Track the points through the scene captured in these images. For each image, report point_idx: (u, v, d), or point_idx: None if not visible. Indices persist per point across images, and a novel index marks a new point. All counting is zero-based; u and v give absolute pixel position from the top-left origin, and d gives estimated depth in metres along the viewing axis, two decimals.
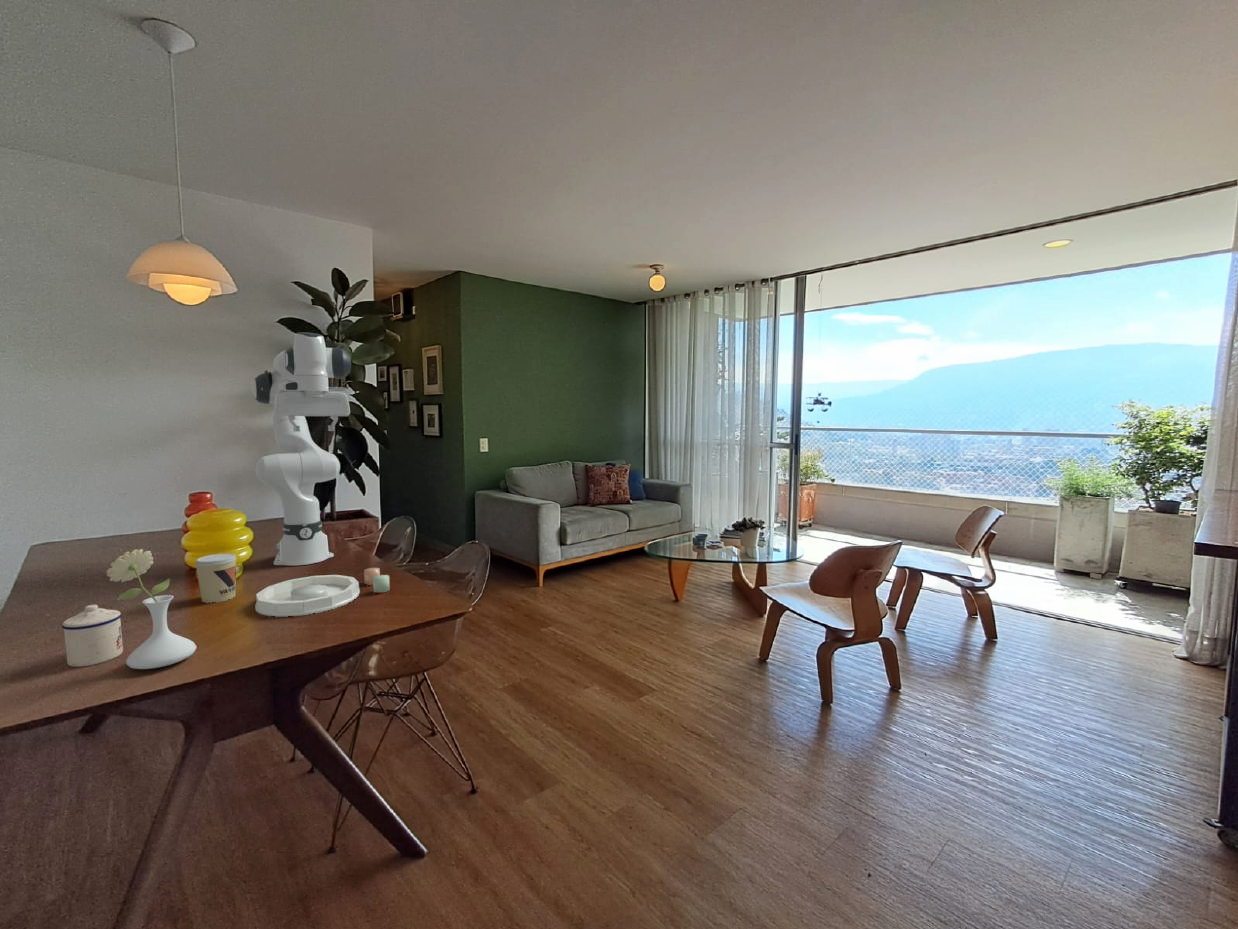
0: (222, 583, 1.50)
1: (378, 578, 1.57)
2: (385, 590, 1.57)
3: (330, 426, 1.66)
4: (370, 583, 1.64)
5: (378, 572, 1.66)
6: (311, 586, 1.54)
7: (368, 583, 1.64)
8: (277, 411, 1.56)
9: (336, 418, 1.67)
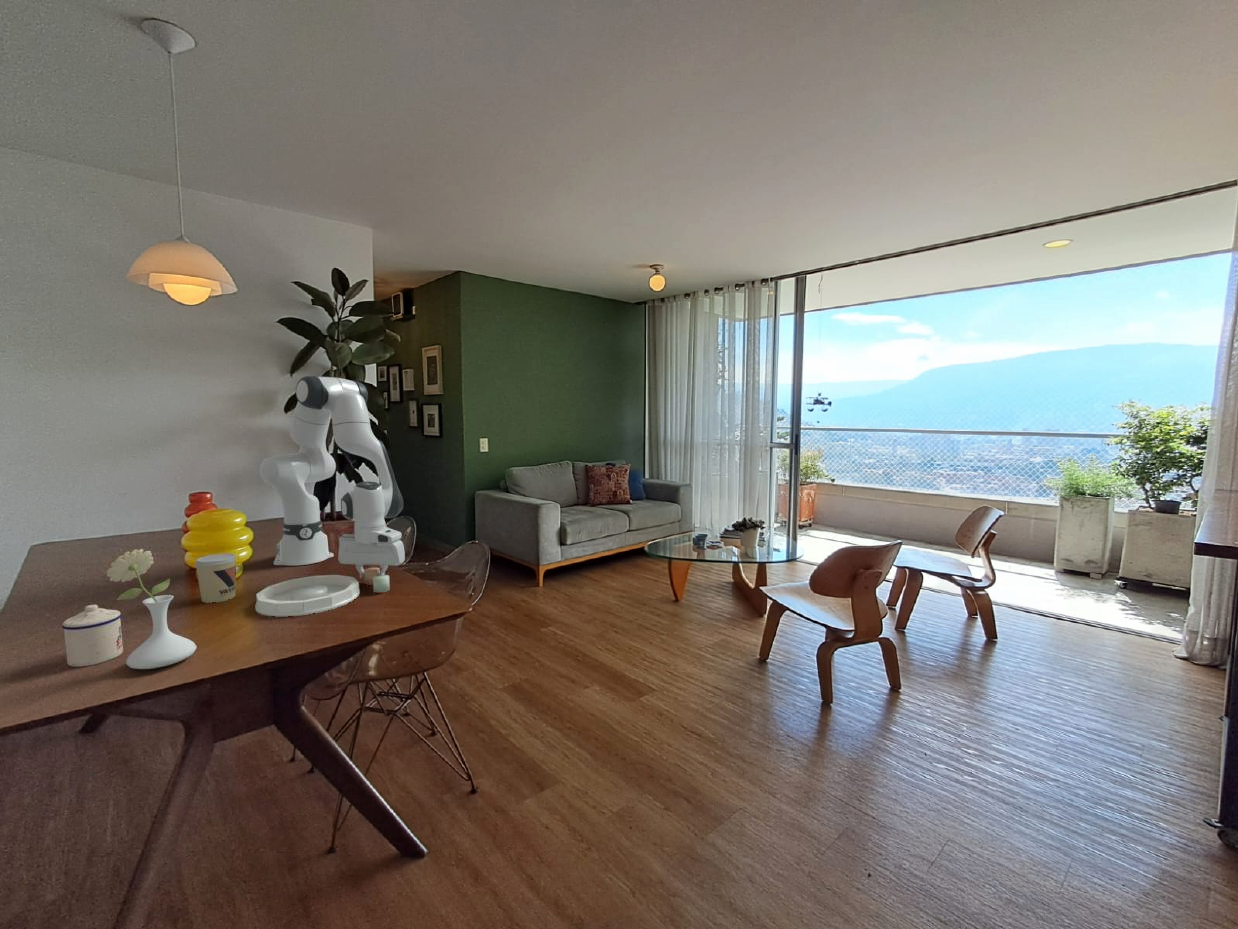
0: (222, 583, 1.50)
1: (378, 578, 1.57)
2: (385, 590, 1.57)
3: None
4: (370, 583, 1.64)
5: (378, 572, 1.66)
6: (311, 586, 1.54)
7: (368, 583, 1.64)
8: None
9: None
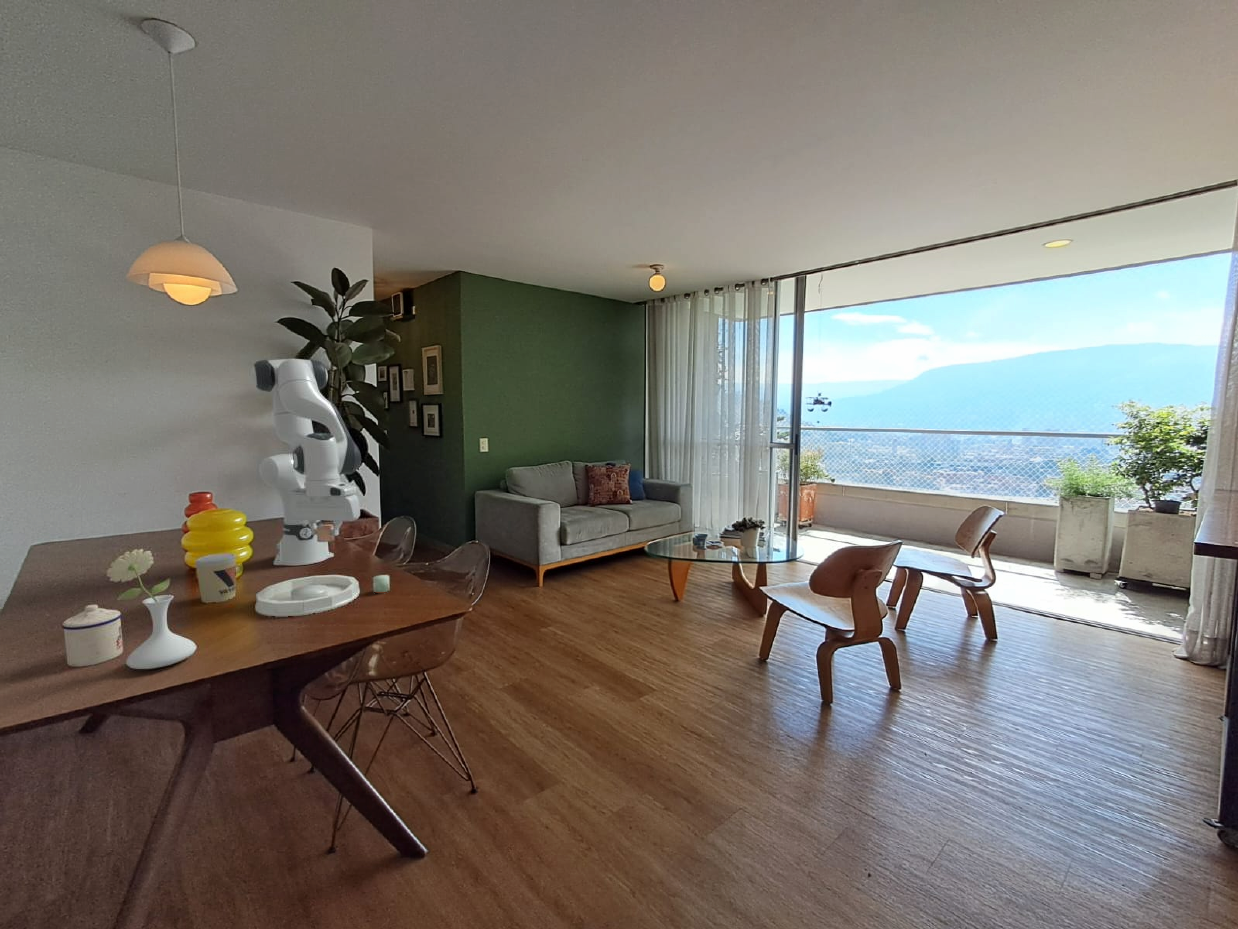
0: (222, 583, 1.50)
1: (378, 578, 1.57)
2: (385, 590, 1.57)
3: None
4: (323, 539, 1.56)
5: (332, 528, 1.57)
6: (311, 586, 1.54)
7: (320, 539, 1.55)
8: None
9: None
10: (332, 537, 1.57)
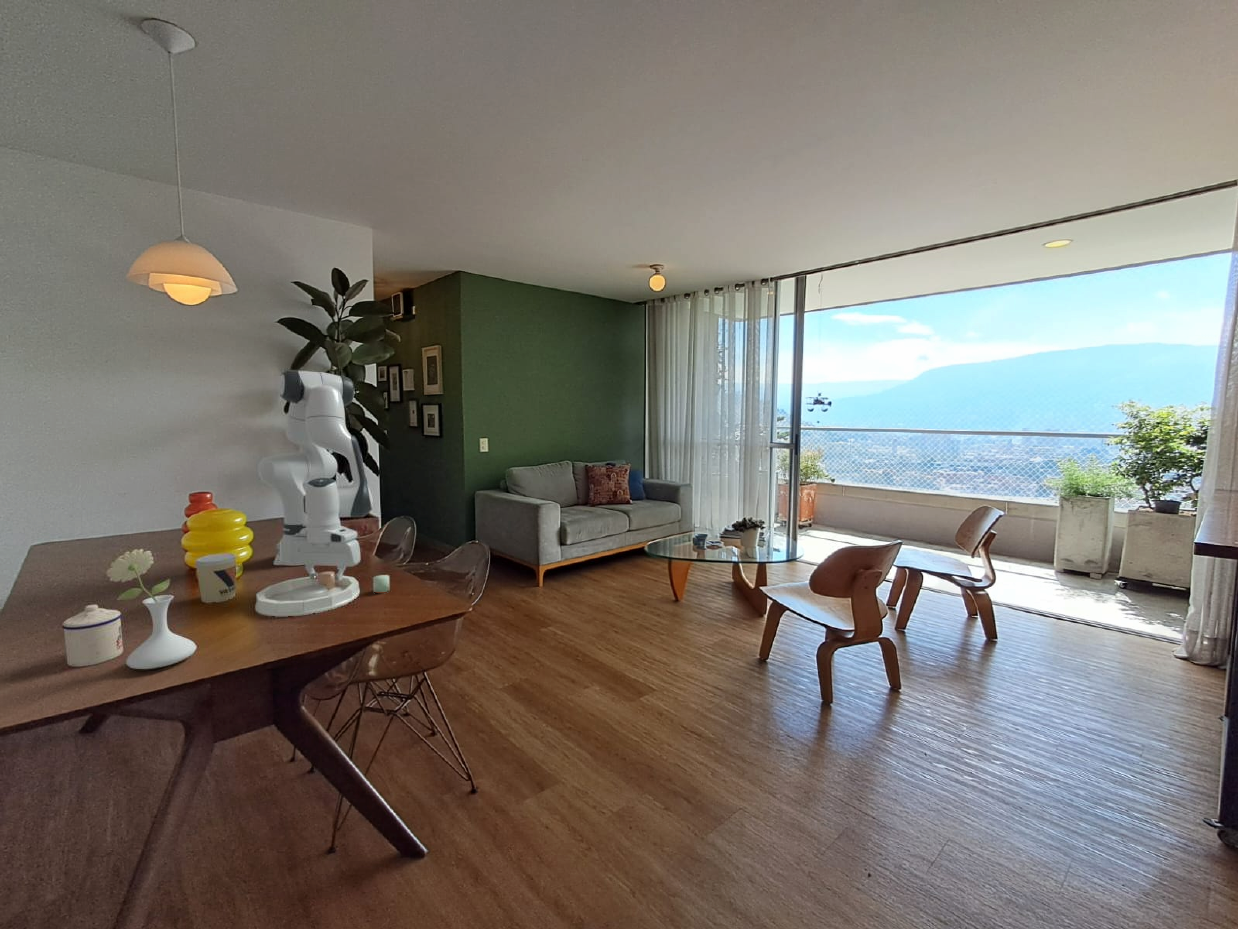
0: (222, 583, 1.50)
1: (379, 578, 1.57)
2: (385, 590, 1.57)
3: None
4: None
5: (332, 576, 1.58)
6: (311, 586, 1.54)
7: None
8: None
9: None
10: (333, 585, 1.59)
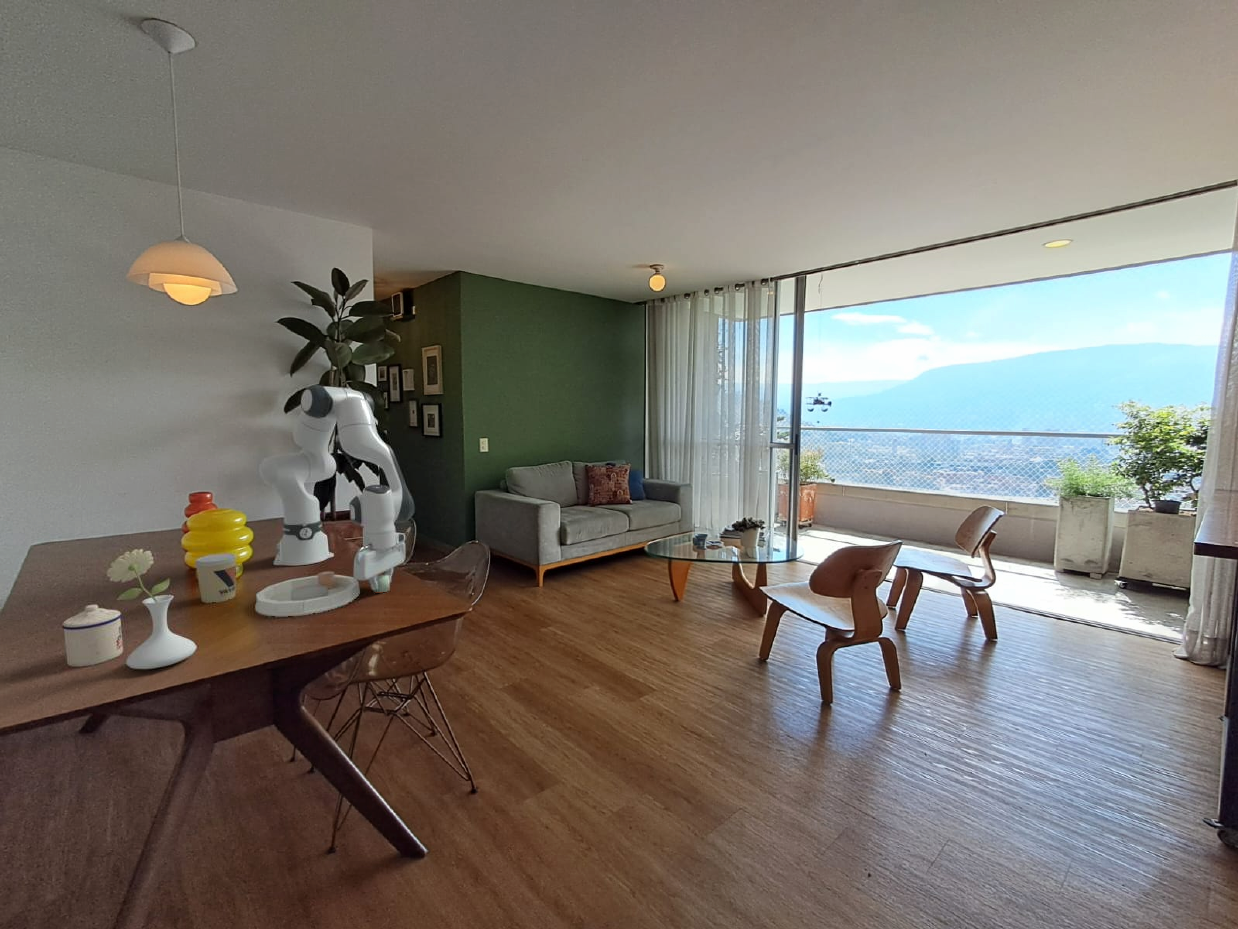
0: (222, 583, 1.50)
1: (379, 578, 1.57)
2: (385, 590, 1.57)
3: None
4: None
5: (332, 576, 1.58)
6: (311, 586, 1.54)
7: None
8: None
9: None
10: (333, 585, 1.59)
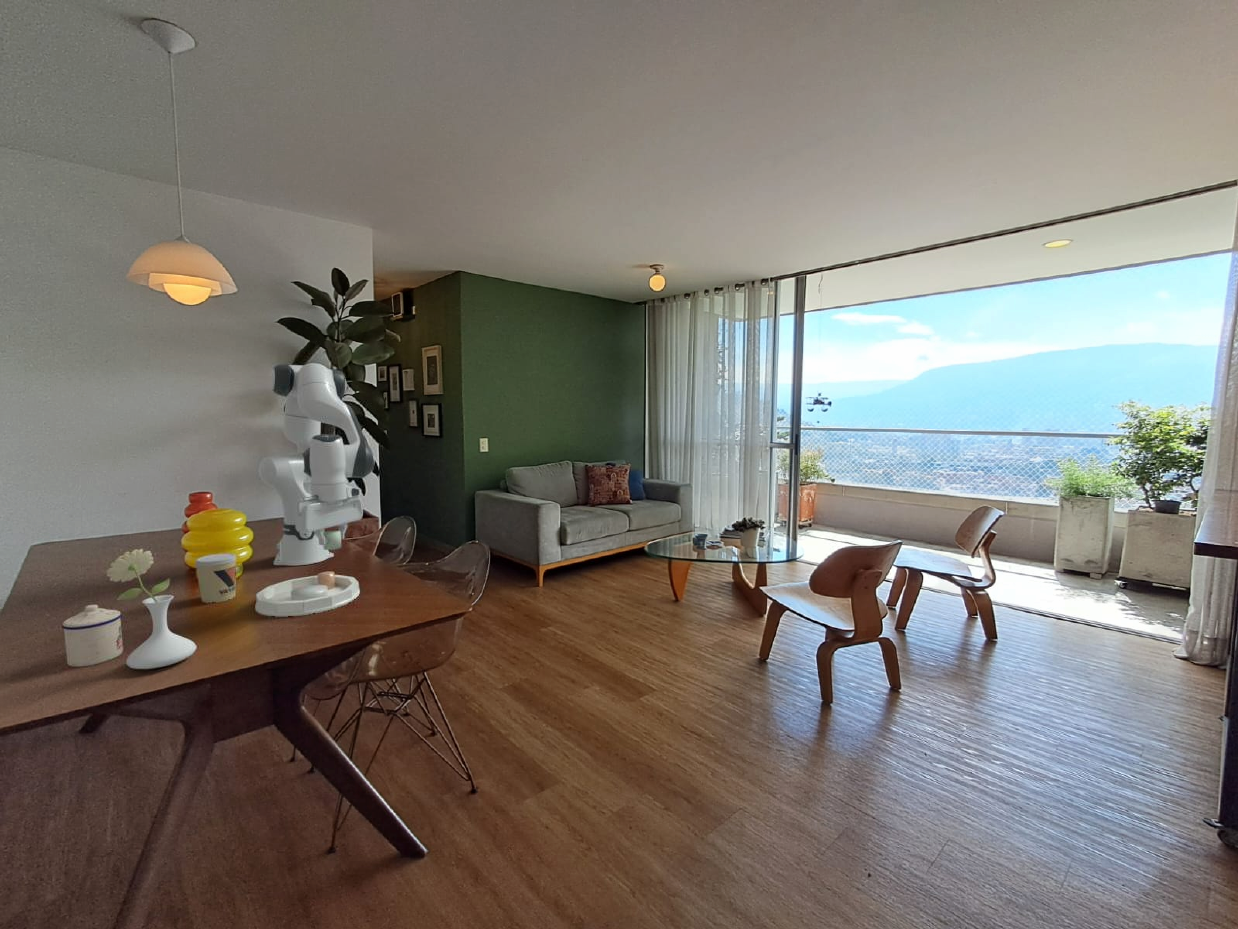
0: (222, 583, 1.50)
1: (328, 533, 1.48)
2: (335, 546, 1.48)
3: None
4: None
5: (332, 576, 1.58)
6: (311, 586, 1.54)
7: None
8: None
9: None
10: (333, 585, 1.59)
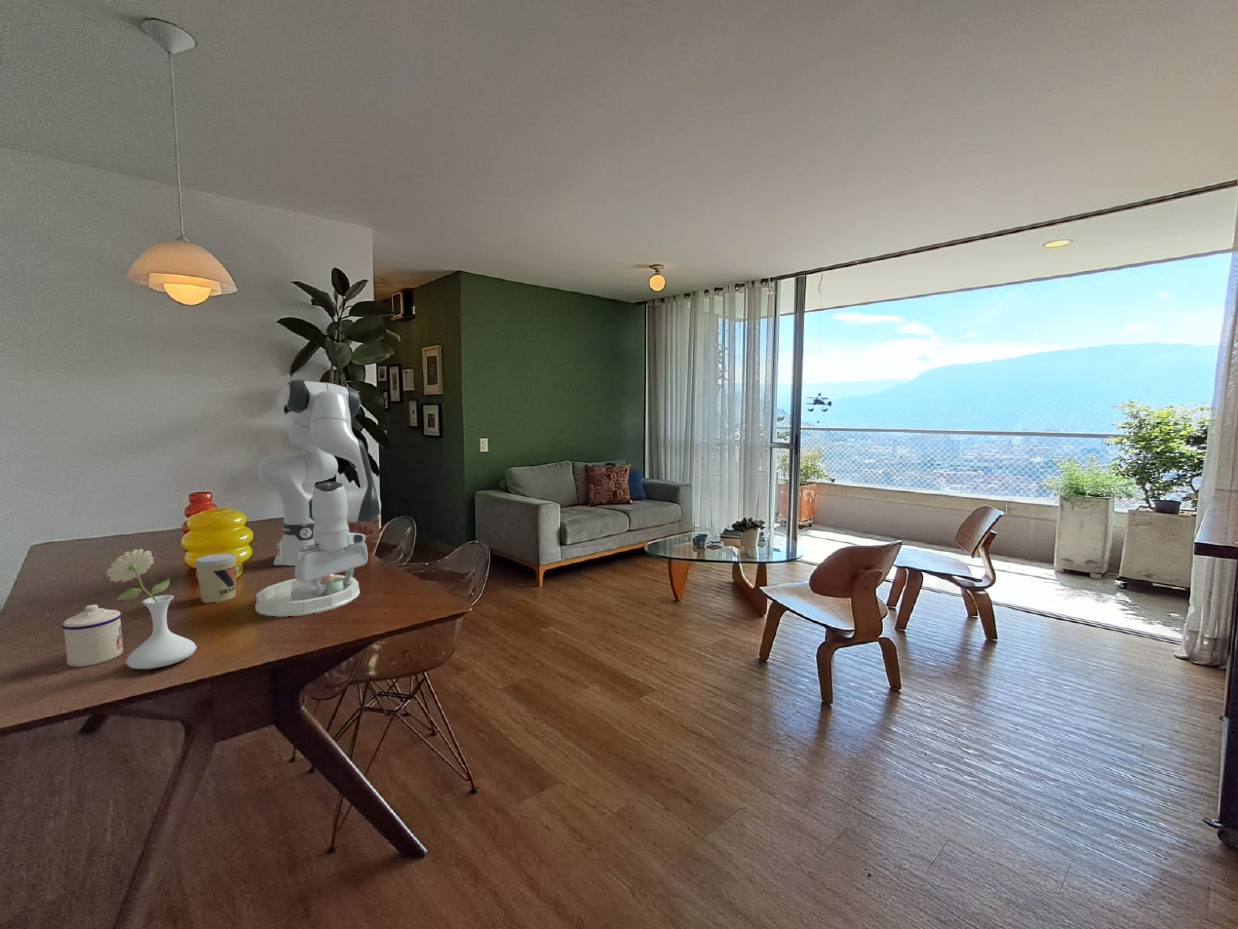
0: (222, 583, 1.50)
1: (330, 583, 1.49)
2: None
3: None
4: None
5: (332, 576, 1.58)
6: (311, 586, 1.54)
7: None
8: None
9: None
10: None
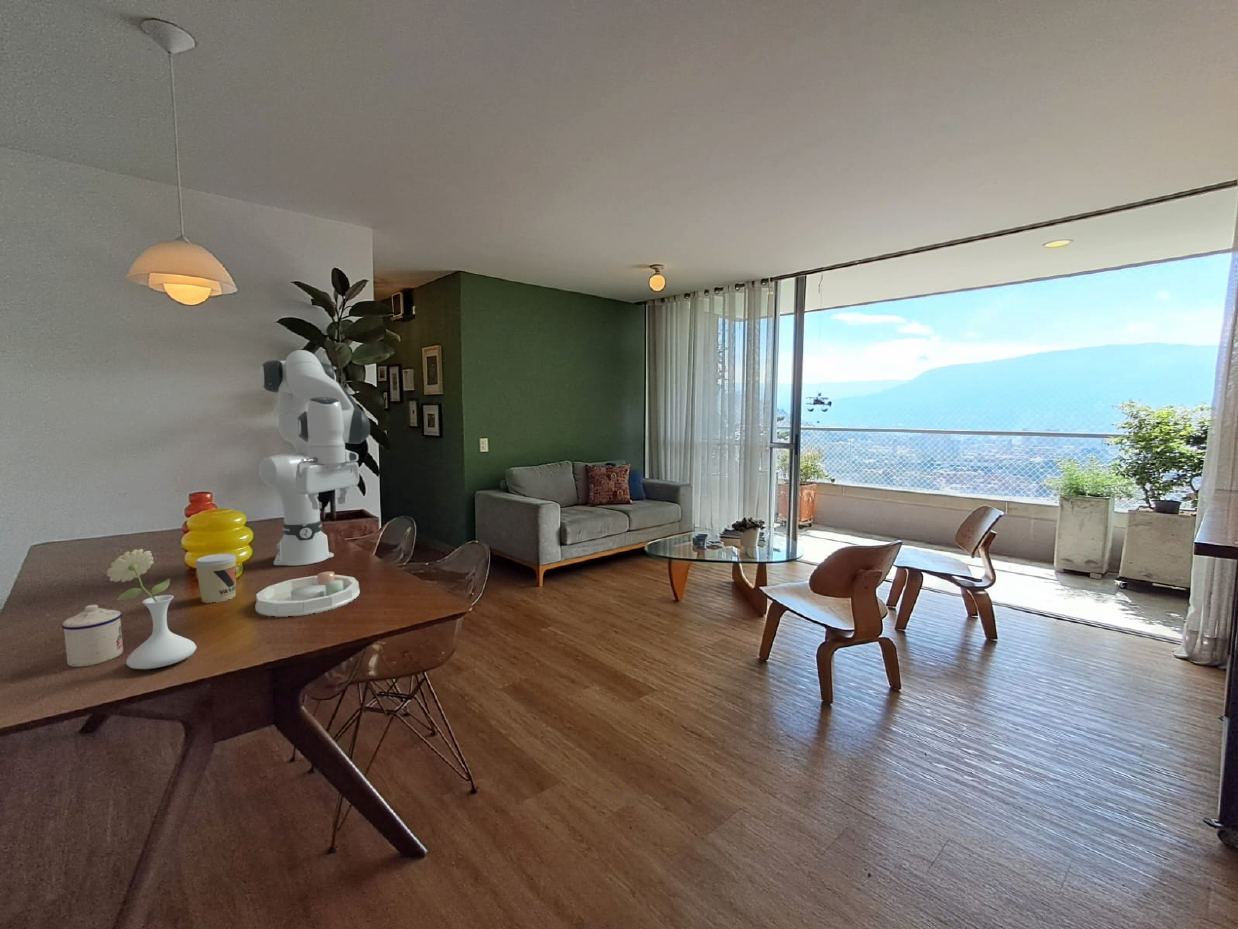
0: (222, 583, 1.50)
1: (330, 583, 1.49)
2: None
3: None
4: None
5: (332, 576, 1.58)
6: (311, 586, 1.54)
7: None
8: None
9: None
10: None
